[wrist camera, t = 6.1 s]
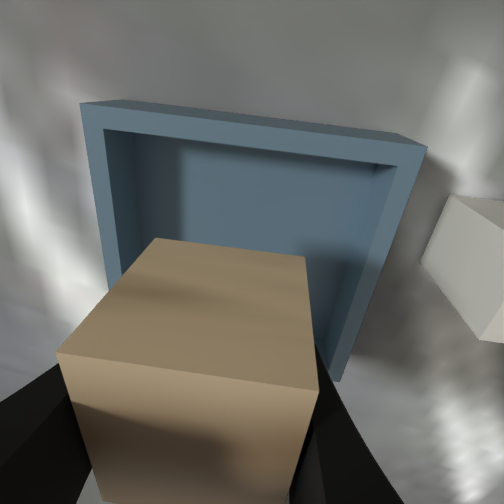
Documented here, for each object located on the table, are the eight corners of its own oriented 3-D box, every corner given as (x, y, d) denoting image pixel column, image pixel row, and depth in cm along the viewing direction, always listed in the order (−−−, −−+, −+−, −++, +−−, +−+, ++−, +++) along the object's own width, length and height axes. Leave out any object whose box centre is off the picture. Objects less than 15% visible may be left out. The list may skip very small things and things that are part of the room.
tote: (331, 337, 20) (339, 382, 17) (142, 309, 21) (118, 348, 18) (396, 133, 14) (427, 146, 11) (122, 99, 14) (79, 103, 11)
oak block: (280, 379, 13) (276, 530, 8) (164, 362, 13) (102, 501, 9) (304, 256, 10) (319, 391, 6) (155, 237, 10) (55, 352, 6)
